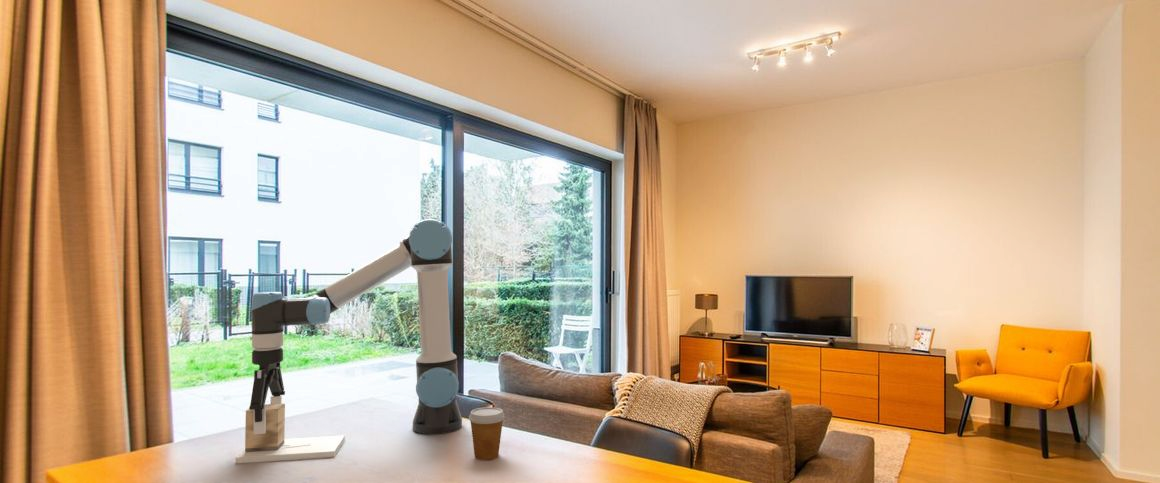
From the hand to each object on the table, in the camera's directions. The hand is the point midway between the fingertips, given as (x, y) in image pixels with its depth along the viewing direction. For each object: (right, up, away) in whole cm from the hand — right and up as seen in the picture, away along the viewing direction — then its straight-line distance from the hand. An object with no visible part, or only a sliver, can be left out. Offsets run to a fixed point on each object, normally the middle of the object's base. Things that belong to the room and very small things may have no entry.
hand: (268, 426), depth 156 cm
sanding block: (-1, -6, 0) cm, 6 cm away
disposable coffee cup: (+60, -7, -3) cm, 61 cm away
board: (+6, -7, +1) cm, 10 cm away
